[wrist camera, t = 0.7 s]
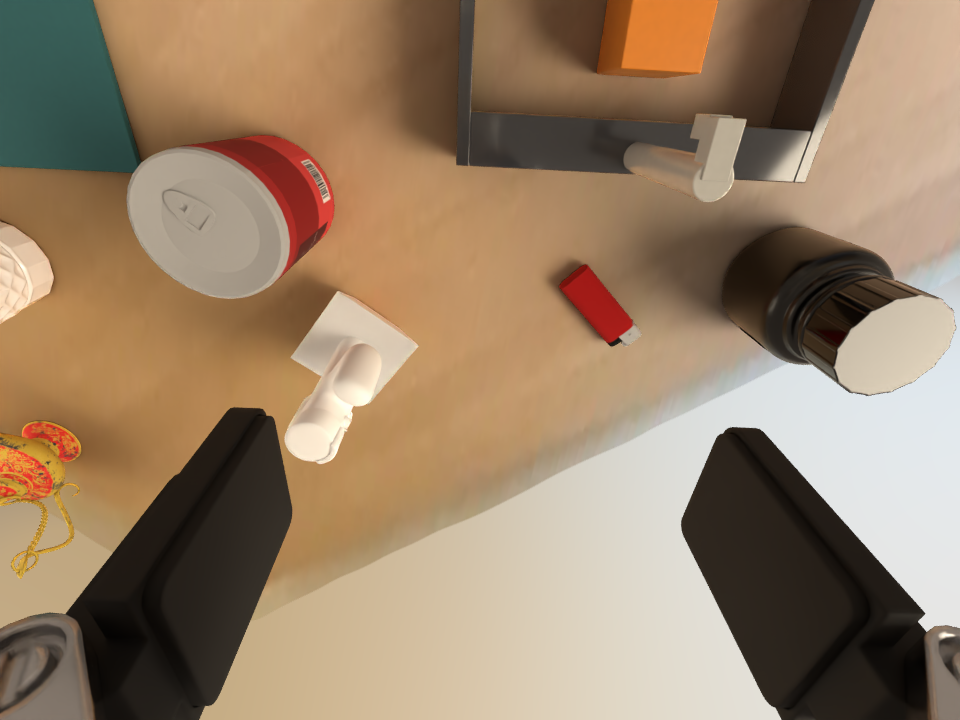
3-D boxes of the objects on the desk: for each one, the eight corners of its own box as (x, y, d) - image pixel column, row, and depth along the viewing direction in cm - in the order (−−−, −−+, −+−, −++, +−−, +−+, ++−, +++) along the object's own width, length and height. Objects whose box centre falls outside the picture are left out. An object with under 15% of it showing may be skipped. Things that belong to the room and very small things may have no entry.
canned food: (239, 111, 30) (134, 114, 21) (353, 170, 32) (305, 198, 23) (215, 215, 33) (114, 259, 24) (319, 263, 35) (265, 322, 26)
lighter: (589, 267, 35) (644, 334, 38) (586, 262, 36) (639, 328, 39) (560, 290, 36) (616, 354, 39) (558, 285, 37) (612, 347, 40)
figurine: (298, 345, 39) (214, 466, 26) (356, 263, 36) (292, 356, 23) (369, 389, 41) (324, 519, 28) (430, 316, 38) (411, 427, 25)
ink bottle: (726, 346, 40) (818, 431, 30) (701, 261, 36) (797, 325, 26) (841, 297, 38) (983, 369, 28) (828, 201, 34) (987, 244, 24)
